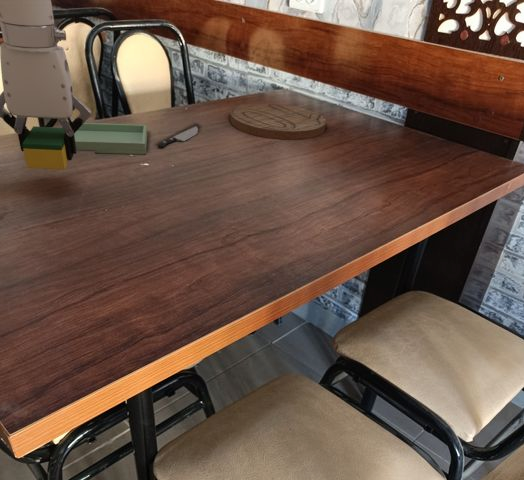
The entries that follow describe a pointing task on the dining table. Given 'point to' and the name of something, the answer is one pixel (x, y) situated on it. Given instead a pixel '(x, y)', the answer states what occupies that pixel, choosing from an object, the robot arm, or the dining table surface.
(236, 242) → the dining table surface
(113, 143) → the tray
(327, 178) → the dining table surface
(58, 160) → the sponge
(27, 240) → the dining table surface
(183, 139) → the chef's knife
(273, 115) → the trivet
